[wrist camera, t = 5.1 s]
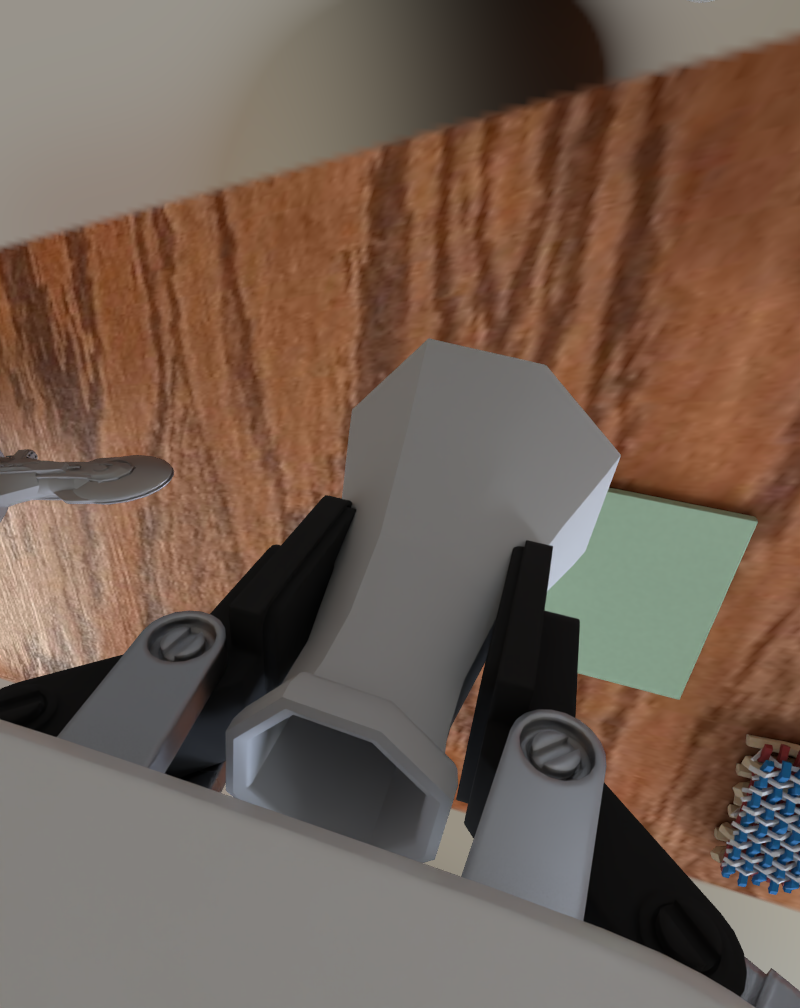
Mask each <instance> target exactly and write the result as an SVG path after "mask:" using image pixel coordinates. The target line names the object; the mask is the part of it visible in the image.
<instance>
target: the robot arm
mask: <svg viewBox="0 0 800 1008" xmlns="http://www.w3.org/2000/svg"><path fill="white" fill-rule="evenodd" d="M351 507H352V502H351V501H350V500H345V499H341V498H336V497H332V496H324V497H323V498H322V499H321V500H320V501H319V503H318V504H317V505H316V506H315V507H314V508H313V510H312V511H311V512H310V513H309V514H308V515H307V516H306V518H305V519H304V520H303V521H302V522H301V523H300V524H299V526H298V527H297V528H296V529H295V530H294V531H293V533H292V534H291V535H290V536H289V537H288V538H287V539H286V541H285V542H284V543H283V544H282V545H273V546H271V547H270V548H269V549H268V550H267V551H266V552H265V553H264V554H263V556H262V557H261V558H260V559H259V560H258V561H257V562H256V563H255V564H254V566H253V567H252V568H251V569H250V570H249V571H248V572H247V573H246V574H245V576H244V577H243V578H242V579H241V580H240V581H239V582H238V583H237V584H236V586H235V587H234V588H233V589H232V590H231V591H230V592H229V593H228V595H227V596H226V597H225V598H224V599H223V600H222V601H221V602H220V603H219V605H218V606H217V607H216V608H215V609H214V610H213V611H212V612H211V613H210V614H207V613H204V612H200V611H182V612H175V613H172V614H169V615H166V616H163V617H161V618H159V619H157V620H155V621H154V622H152V623H151V624H150V625H149V626H147V627H146V628H145V629H144V630H143V631H142V632H141V634H140V635H139V636H138V637H137V639H136V640H135V641H134V642H133V644H132V645H131V646H130V647H129V649H128V650H127V651H126V652H125V653H124V654H123V655H120V656H116V657H112V658H108V659H105V660H101V661H97V662H93V663H89V664H86V665H82V666H78V667H74V668H71V669H67V670H63V671H59V672H55V673H52V674H48V675H44V676H40V677H36V678H33V679H29V680H25V681H21V682H18V683H15V684H12V685H9V686H7V687H4V688H2V689H0V1008H800V991H799V990H798V989H797V988H795V987H794V986H793V985H792V984H790V983H789V982H788V981H787V980H786V979H784V978H783V977H782V976H780V975H779V974H778V973H777V972H776V971H774V970H773V969H772V968H771V969H770V971H769V972H768V973H767V974H765V973H764V972H762V971H761V970H760V969H759V968H758V967H757V966H755V965H754V964H753V963H751V961H749V960H748V959H747V958H746V957H744V953H743V950H742V948H741V945H740V943H739V941H738V939H737V937H736V935H735V932H734V931H733V929H732V928H731V927H730V925H729V924H728V923H727V921H726V920H725V918H724V917H723V916H722V915H721V913H720V912H719V911H718V910H717V909H716V908H715V906H714V905H713V904H712V903H711V902H710V901H709V900H708V899H707V897H706V896H705V895H704V894H703V893H702V892H701V891H700V889H699V888H698V887H697V886H696V885H695V884H694V883H693V882H692V881H691V879H690V878H689V877H688V876H687V875H686V874H685V873H684V872H683V870H682V869H681V868H680V867H679V866H678V865H677V864H676V863H675V861H674V860H673V859H672V858H671V857H670V856H669V855H668V854H667V852H666V851H665V850H664V849H663V848H662V847H661V846H660V845H659V844H658V842H657V841H656V840H655V839H654V838H653V837H652V836H651V835H650V833H649V832H648V831H647V830H646V829H645V828H644V827H643V826H642V824H641V823H640V822H639V821H638V820H637V819H636V818H635V817H634V816H633V814H632V813H631V812H630V811H629V810H628V809H627V808H626V807H625V805H624V804H623V803H622V802H621V801H620V800H619V799H618V798H617V796H616V795H615V794H614V793H613V792H612V791H611V790H610V789H609V787H608V786H607V785H606V784H605V783H604V778H605V771H606V754H605V751H604V749H603V747H602V744H601V742H600V740H599V739H598V738H597V736H596V735H595V734H594V733H593V731H592V730H591V729H590V728H589V727H587V726H586V725H585V724H584V723H582V722H581V721H580V720H578V719H576V718H575V714H576V693H577V673H578V653H579V633H580V620H579V619H577V618H573V617H569V616H565V615H561V614H557V613H553V612H549V611H545V604H546V596H547V589H548V581H549V574H550V566H551V559H552V551H553V546H551V545H547V544H542V543H538V542H533V541H529V540H526V543H525V547H523V546H517V547H514V548H513V550H512V555H511V559H510V563H509V567H508V571H507V575H506V580H505V584H504V588H503V592H502V596H501V600H500V604H499V609H498V613H497V617H496V621H495V625H494V629H493V633H492V638H491V642H490V646H489V650H488V654H487V658H486V663H485V667H484V671H483V676H482V680H481V685H480V689H479V694H478V699H477V703H476V708H475V713H474V718H473V722H472V727H471V732H470V737H469V741H468V746H467V751H466V756H465V760H464V765H463V770H462V775H461V779H460V784H459V789H458V794H457V798H456V800H458V801H462V802H465V803H468V807H467V812H466V816H465V821H464V824H465V826H466V827H467V829H468V831H469V832H470V833H471V835H472V836H473V838H474V840H473V843H472V846H471V849H470V852H469V855H468V858H467V861H466V864H465V867H464V870H463V873H462V876H461V877H460V876H458V875H455V874H452V873H449V872H446V871H443V870H440V869H438V868H434V867H432V866H429V865H426V864H423V863H421V862H418V861H415V860H412V859H409V858H406V857H404V856H401V855H398V854H395V853H392V852H389V851H387V850H384V849H381V848H378V847H375V846H372V845H369V844H367V843H364V842H361V841H358V840H355V839H352V838H350V837H347V836H344V835H341V834H338V833H335V832H332V831H329V830H326V829H324V828H321V827H318V826H315V825H312V824H309V823H306V822H303V821H301V820H298V819H295V818H292V817H289V816H286V815H283V814H280V813H277V812H275V811H272V810H269V809H266V808H263V807H260V806H257V805H254V804H251V803H249V802H246V801H243V800H240V799H237V798H234V797H231V796H228V795H225V794H222V793H221V792H222V790H223V787H224V785H225V783H226V730H227V728H228V727H229V725H230V723H231V722H232V720H233V718H234V717H235V716H236V715H238V714H239V713H240V712H241V711H242V710H243V709H244V708H245V707H247V706H248V705H250V704H251V703H253V702H254V701H256V700H258V699H259V698H261V697H262V696H264V695H266V694H267V693H269V692H270V691H272V690H274V689H275V688H277V687H278V686H280V685H281V684H282V682H283V681H284V679H285V678H286V676H287V674H288V673H289V671H290V669H291V668H292V666H293V664H294V663H295V661H296V659H297V658H298V656H299V654H300V653H301V651H302V650H303V648H304V646H305V645H306V643H307V641H308V639H309V636H310V633H311V630H312V628H313V625H314V622H315V619H316V616H317V614H318V611H319V608H320V605H321V602H322V600H323V597H324V594H325V591H326V589H327V586H328V583H329V580H330V577H331V575H332V572H333V569H334V563H335V560H336V558H337V556H338V553H339V551H340V548H341V546H342V544H343V541H344V539H345V536H346V534H347V532H348V529H349V527H350V525H351V522H352V520H353V517H354V515H355V513H356V510H357V509H355V508H351Z"/></svg>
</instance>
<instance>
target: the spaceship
mask: <svg viewBox="0 0 800 1008" xmlns="http://www.w3.org/2000/svg"><path fill="white" fill-rule="evenodd" d="M6 457H9V458H6ZM6 457H4V455H3V453H2V452H1V450H0V522H1V521H2V519H3V517H4V516H5V514H6V512H7V510H8V507H9V506H12V505H14V504H18V503H22V502H25V501H29V500H63V501H64V502H65V503H68V504H93V503H94V504H116V503H123V502H129V501H132V500H136V499H139V498H143V497H146V496H148V495H150V494H153V493H155V492H157V491H159V490H160V489H162V488H163V487H165V486H166V485H167V484H168V483H169V482H170V481H171V479H172V477H173V476H174V470H173V468H172V467H171V465H170V464H169V463H168V462H166V461H165V460H162V459H159V458H156V457H151V456H142V455H131V456H123V457H113V458H100V459H95V460H93V461H90V462H53V461H40V460H37V455H36V454H35V452H34V451H33V450H29V449H28V450H18V451H17V452H16V454H15V455H13V456H6ZM11 457H12V458H11Z"/></svg>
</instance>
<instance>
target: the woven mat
mask: <svg viewBox="0 0 800 1008" xmlns="http://www.w3.org/2000/svg"><path fill="white" fill-rule="evenodd" d="M746 744H747V745H748V746H750V747H754V748H759V749H761V750H760V751H759V752H758V753H757V754H756V755H755V756H754V757H752V756H745V758H744V760H743V761H742V764H743V765H742V764H738V763H737V765H736V774H737V775H739V776H743V777H747V778H750V779H751V781H750V782H740V783H738V784H737V785H735V786H734V787H732V788H733V791H734V793H735V796H734V802H733V803H734V804H736V805H733V804H729V806H728V814H729V817H731V818H735V819H736V821H732V822H731V825H730V824H729V823H728V822H725V823H723V824H721V826H720V828H718V827H715V832H714V836H715V837H716V839H718V840H722V841H726V842H727V843H726V844H727V846H717V847H715V848H714V849H713V850H712V851H710V852H711V856H712V859H714V860H716V861H717V862H719V863H721V862H722V863H721V866H720V868H721V871H722V876H723V877H726V878H729V876H730V874H733V873H735V869H736V870H737V871H739V872H740V873H739V879H738V886H742V887H745V886H746V885H747V879H748V875H751V876H752V877H753V878H752V883H753V884H754V885H758V886H759V885H760V882H763V881H766V882H769V883H770V886H769V887H768V891H769V893H770V894H775V895H776V894H777V892H778V888H779V883H782V886H783V890H784V892H787V893H791V891H792V890H794V889H798V888H799V887H800V745H797V744H793V743H790V742H785V741H780V740H775V739H769V738H764V737H759V736H753V735H748V734H747V735H746ZM772 752H776V753H779V754H778V756H771V753H772ZM788 756H792V757H795V758H796V759H793V758H788ZM761 796H763V797H762V798H761ZM737 805H738V806H737ZM751 823H752V824H751ZM735 860H737V861H735Z"/></svg>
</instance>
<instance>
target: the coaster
mask: <svg viewBox="0 0 800 1008" xmlns="http://www.w3.org/2000/svg"><path fill="white" fill-rule="evenodd" d="M757 522H758V521H757V519H756V517H755V516H750V515H745V514H740V513H735V512H730V511H725V510H720V509H715V508H710V507H704V506H699V505H694V504H689V503H684V502H679V501H674V500H669V499H664V498H659V497H654V496H649V495H644V494H639V493H634V492H629V491H624V490H619V489H614V488H609V489H608V491H607V494H606V497H605V500H604V502H603V505H602V508H601V510H600V513H599V516H598V518H597V521H596V524H595V527H594V529H593V532H592V535H591V537H590V540H589V543H588V546H587V548H586V551H585V552H584V553H583V555H582V556H581V557H580V558H579V559H578V560H577V561H576V563H575V564H574V565H573V566H572V567H571V568H570V569H569V570H568V571H567V572H566V573H565V574H564V575H563V576H562V577H561V578H560V579H559V580H558V581H557V582H556V583H555V584H554V585H553V586H552V587H551V588H550V589H549V590H548V591H547V596H546V604H545V611H549V612H553V613H557V614H561V615H565V616H569V617H573V618H577V619H579V620H580V633H579V653H578V673H580V674H583V675H587V676H591V677H595V678H599V679H602V680H606V681H610V682H614V683H618V684H621V685H625V686H629V687H633V688H637V689H640V690H644V691H648V692H652V693H656V694H659V695H663V696H667V697H671V698H675V699H680V697H681V695H682V692H683V690H684V688H685V686H686V683H687V681H688V679H689V677H690V674H691V672H692V670H693V668H694V665H695V663H696V661H697V658H698V656H699V654H700V652H701V649H702V647H703V645H704V643H705V640H706V638H707V636H708V634H709V631H710V629H711V627H712V624H713V622H714V620H715V618H716V615H717V613H718V611H719V609H720V606H721V604H722V602H723V600H724V597H725V595H726V593H727V590H728V588H729V586H730V584H731V581H732V579H733V577H734V575H735V572H736V570H737V568H738V565H739V563H740V561H741V559H742V556H743V554H744V552H745V550H746V547H747V545H748V543H749V541H750V538H751V536H752V534H753V531H754V529H755V527H756V525H757Z"/></svg>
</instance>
